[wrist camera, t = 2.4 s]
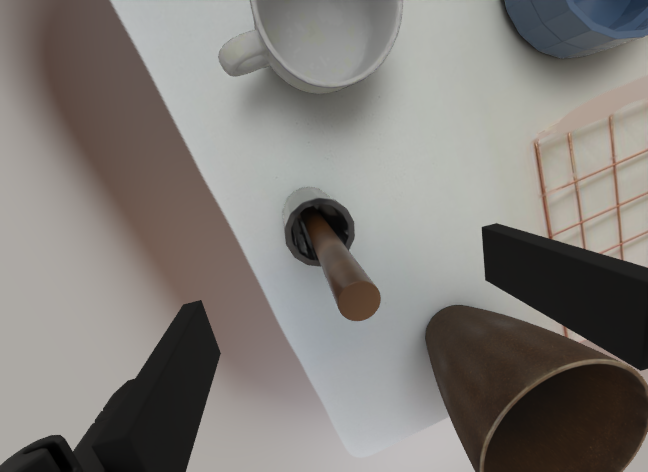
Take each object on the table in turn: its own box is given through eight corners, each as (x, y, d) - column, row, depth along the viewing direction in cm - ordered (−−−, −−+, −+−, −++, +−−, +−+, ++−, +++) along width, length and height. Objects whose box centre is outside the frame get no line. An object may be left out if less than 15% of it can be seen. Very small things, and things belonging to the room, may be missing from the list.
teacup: (355, -43, 27) (387, -123, 19) (383, 87, 30) (419, 62, 22) (202, -2, 26) (170, -70, 18) (246, 127, 29) (235, 116, 21)
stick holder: (271, 212, 31) (269, 233, 23) (310, 175, 31) (323, 182, 22) (307, 247, 33) (317, 279, 24) (344, 213, 32) (368, 233, 24)
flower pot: (493, 256, 37) (648, 327, 21) (516, 351, 41) (659, 466, 26) (381, 307, 36) (459, 417, 21) (417, 397, 40) (503, 544, 25)
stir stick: (296, 213, 31) (328, 302, 12) (309, 201, 31) (362, 272, 12) (308, 225, 32) (357, 329, 12) (321, 213, 32) (389, 301, 12)
